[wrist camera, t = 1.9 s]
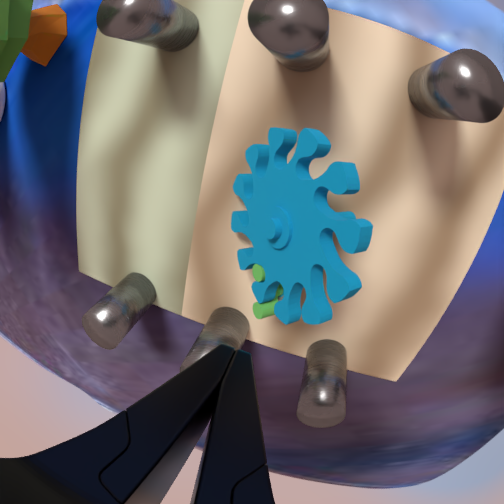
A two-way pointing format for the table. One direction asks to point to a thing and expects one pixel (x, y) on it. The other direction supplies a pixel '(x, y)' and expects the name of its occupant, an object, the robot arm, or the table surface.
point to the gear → (297, 227)
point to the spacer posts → (301, 60)
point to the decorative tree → (29, 32)
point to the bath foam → (2, 99)
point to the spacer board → (256, 132)
